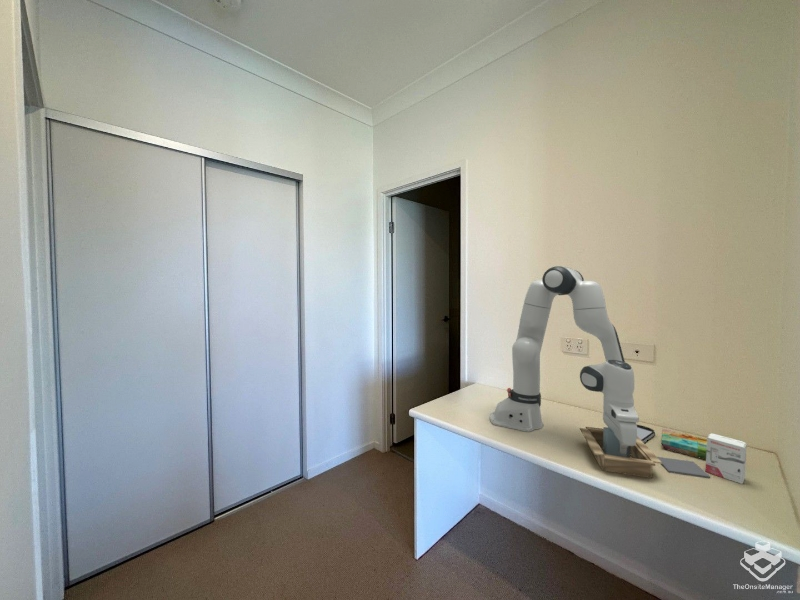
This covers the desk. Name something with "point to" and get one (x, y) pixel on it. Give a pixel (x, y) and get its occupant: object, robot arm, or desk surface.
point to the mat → (682, 467)
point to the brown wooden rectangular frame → (632, 466)
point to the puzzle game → (684, 443)
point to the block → (612, 444)
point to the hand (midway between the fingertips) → (617, 446)
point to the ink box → (726, 457)
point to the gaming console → (644, 433)
